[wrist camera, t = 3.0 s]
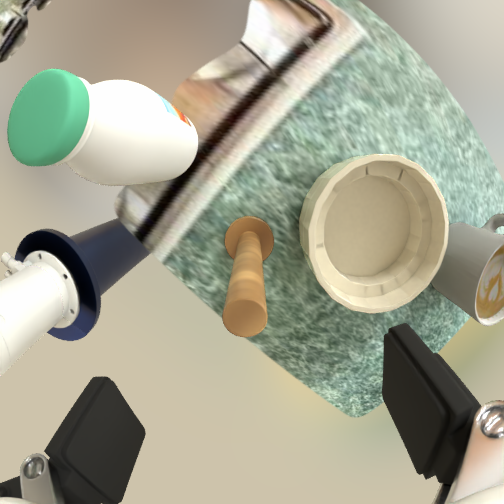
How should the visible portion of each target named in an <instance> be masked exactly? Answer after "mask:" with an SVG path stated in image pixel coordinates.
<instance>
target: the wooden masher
mask: <svg viewBox="0 0 504 504" xmlns="http://www.w3.org/2000/svg"><path fill="white" fill-rule="evenodd" d="M273 246H274V237H273V233H272V230H271V228H270V227H269V225H268V224H267V223H266V222H265V221H264V220H262V219H260V218H258V217H255V216H244V217H241V218H238V219H237V220H235V221H234V222H233V223H232V224H231V225H230V226H229V228H228V230H227V232H226V235H225V247H226V250H227V252H228V254H229V255H230V256H231V258H233V259H234V263H233V268H232V272H231V277H230V282H229V286H228V291H227V296H226V300H225V305H224V310H223V314H222V319H223V323H224V325H225V327H226V328H227V330H228V331H229V332H231V333H232V334H234V335H236V336H240V337H251V336H254V335H256V334H258V333H260V332H261V331H262V330H263V329H264V327H265V326H266V323H267V319H268V318H267V306H266V295H265V285H264V275H263V265H262V261H264V260H265V259H266V258H267V257H268V256H269V255H270V253H271V252H272V249H273Z"/></svg>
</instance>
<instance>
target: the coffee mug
mask: <svg viewBox="0 0 504 504" xmlns="http://www.w3.org/2000/svg"><path fill="white" fill-rule="evenodd" d="M500 226H504V214H496V215H494V216H492V217H491V218H490V219H489V220H488V221H487V222H486V224H485V225H484V226H483V227H481V228H477V227H474V226H471V225H468V224H465V223H461V222H457V223H453V224H451V225H449V232H448V245H447V248H446V251H445V254H444V257H443V260H442V263H441V266H440V268H439V270H438V271H437V273H436V274H435V276H434V277H433V279H432V280H431V284H432V285H433V287H434V288H435V289H436V290H437V291H438V292H440V293H441V294H443V295H444V296H445V297H447V298H448V299H449V300H451V301H452V302H453V303H454V304H456V305H457V306H458V307H460V308H461V309H462V310H464V311H465V312H466V313H467V314H469V315H470V316H471V317H473V318H474V319H475V320H476V321H478V322H479V323H480V324H482V325H484V326H491V325H494V324H496V323H498V322H499V321H501V320H502V319H503V318H504V234H503V235H501V234H496V233H494V232H495V230H496V229H497V228H498V227H500Z"/></svg>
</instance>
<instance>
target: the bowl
mask: <svg viewBox="0 0 504 504" xmlns="http://www.w3.org/2000/svg"><path fill="white" fill-rule="evenodd" d="M448 232H449V220H448V214H447V209H446V204H445V200H444V198H443V196H442V194H441V192H440V190H439V188H438V186H437V184H436V182H435V180H434V179H433V178H432V177H431V176H430V175H429V174H428V173H427V172H426V171H425V170H424V169H423V168H422V167H421V166H420V165H419V164H417V163H415V162H413V161H410V160H408V159H406V158H404V157H401V156H399V155H390V154H370V155H363V156H356V157H352V158H349V159H347V160H344V161H341V162H338V163H336V164H334V165H333V166H331V167H330V168H329V169H328V170H326V171H325V172H324V173H323V174H321V175H320V176H319V177H318V178H317V179H316V181H315V183H314V184H313V186H312V187H311V189H310V190H309V192H308V194H307V195H306V197H305V199H304V203H303V207H302V210H301V214H300V218H299V234H300V245H301V248H302V250H303V253H304V256H305V258H306V261H307V264H308V265H309V267H310V269H311V270H312V272H313V274H314V276H315V277H316V279H317V281H318V282H319V283H320V285H321V286H322V287H323V288H324V290H325V291H326V292H327V293H328V295H329V296H330V297H331V298H332V299H333V300H335V301H336V302H338V303H340V304H341V305H343V306H345V307H347V308H348V309H350V310H354V311H359V312H365V313H370V314H373V313H380V312H386V311H392V310H394V309H396V308H398V307H400V306H402V305H404V304H406V303H408V302H410V301H412V300H413V299H414V298H415V297H416V296H418V295H419V294H420V293H421V292H422V291H423V290H424V289H425V288H426V287H427V286H428V285H429V284H430V282H431V280H432V279H433V277H434V276H435V274H436V273H437V271H438V270H439V268H440V266H441V263H442V260H443V257H444V254H445V251H446V248H447V245H448Z"/></svg>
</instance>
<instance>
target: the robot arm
mask: <svg viewBox="0 0 504 504" xmlns="http://www.w3.org/2000/svg"><path fill="white" fill-rule="evenodd" d="M1 262H3V263H4V264H5V265H6V266H7V267H8V268H10V269H11V272H10V271H9V270H7V271H6V273H5V277H6V278H5V279H3V280H1V281H0V377H1V376H2V375H3V374H4V373H5V372H6V371H7V370H8V369H9V368H10V367H11V366H12V365H13V364H14V363H15V362H16V361H17V360H18V359H19V358H20V357H21V356H22V355H23V354H24V353H25V352H26V351H27V350H28V349H29V348H30V347H31V346H33V345H34V344H35V343H36V342H37V341H38V340H39V339H40V338H41V337H42V336H43V335H44V334H45V333H47V332H48V331H49V330H50V329H51V328H52V327H55V328H65V327H67V326H69V325H71V324H72V323H73V322H74V321H75V319H76V318H77V316H78V314H79V311H80V295H79V289H78V286H77V283H76V281H75V279H74V277H73V274H72V273H71V271H70V270H69V268H68V267H67V265H66V264H65V263H64V262H63V261H62V260H61V259H60V258H59V257H58V256H57V255H55V254H53V253H52V252H49V251H47V250H38V251H35V252H33V253H31V254H29V255H28V256H27V257H26V259H25V260H24V262H23V263H22V262H20V261H16V260H15V259H14V257H12V256H11V255H10V254H9V253H8V252H5V253H3V255H2V257H1ZM382 396H383V400H384V402H385V404H386V406H387V408H388V410H389V413H390V415H391V417H392V419H393V421H394V423H395V425H396V427H397V429H398V432H399V434H400V436H401V438H402V440H403V442H404V444H405V447H406V449H407V451H408V454H409V455H410V458H411V460H412V463H413V465H414V467H415V469H416V471H417V473H418V474H419V475H420V474H423V475H424V477H425V479H429V478H431V477H433V476H435V475H436V477H437V479H438V482H439V483H441V484H440V486H439V489H438V491H437V494H436V496H435V498H434V501H433V503H432V504H504V401H501V400H496V401H491V402H488V403H486V404H485V405H483V406H481V405H480V404H479V402H478V401H477V400H476V398H475V397H474V396H473V395H472V393H471V392H470V391H469V390H468V389H467V387H466V386H465V385H464V383H463V382H462V381H461V380H460V378H459V377H458V376H457V375H456V374H455V372H454V371H453V370H452V369H451V368H450V366H449V365H448V364H447V363H446V362H445V361H444V359H443V358H442V357H441V356H440V355H439V354H437V353H432V351H431V350H430V349H429V348H428V347H427V346H426V344H425V343H424V342H423V341H422V340H421V339H420V337H419V336H418V335H417V334H416V333H415V332H414V331H413V329H412V328H411V327H410V326H409V325H408V324H407V323H403V324H400V325H397V326H394V327H391V328H389V331H388V333H387V334H385V335H384V362H383V385H382ZM144 438H145V429H144V427H143V425H142V424H141V423H140V421H139V420H138V418H137V417H136V415H135V414H134V413H133V411H132V410H131V408H130V407H129V405H128V404H127V402H126V400H125V399H124V397H123V396H122V394H121V393H120V391H119V389H118V388H117V386H116V385H115V383H114V382H113V381H111V379H110V378H108V377H93V378H92V379H91V380H90V382H89V384H88V385H87V386H86V388H85V389H84V391H83V392H82V394H81V395H80V396H79V398H78V399H77V401H76V402H75V404H74V405H73V407H72V408H71V410H70V411H69V413H68V414H67V416H66V417H65V419H64V420H63V422H62V424H61V425H60V427H59V428H58V430H57V431H56V433H55V434H54V436H53V438H52V439H51V441H50V443H49V444H48V446H47V447H46V449H45V451H44V452H45V453H46V454H47V455H48V456H49V457H50V459H49V460H48V459H47V458H46V457H45V456H44V455H42V454H37V453H36V454H32V455H30V456H28V457H27V458H26V459H25V460H24V461H23V463H22V465H21V467H20V476H18V477H15V478H13V479H10V480H8V481H5V482H2V483H0V504H101V503H102V504H118V503H120V502H121V501H122V499H123V496H124V493H125V491H126V487H127V485H128V482H129V479H130V476H131V473H132V471H133V468H134V465H135V462H136V459H137V457H138V454H139V451H140V448H141V446H142V443H143V440H144Z"/></svg>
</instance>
